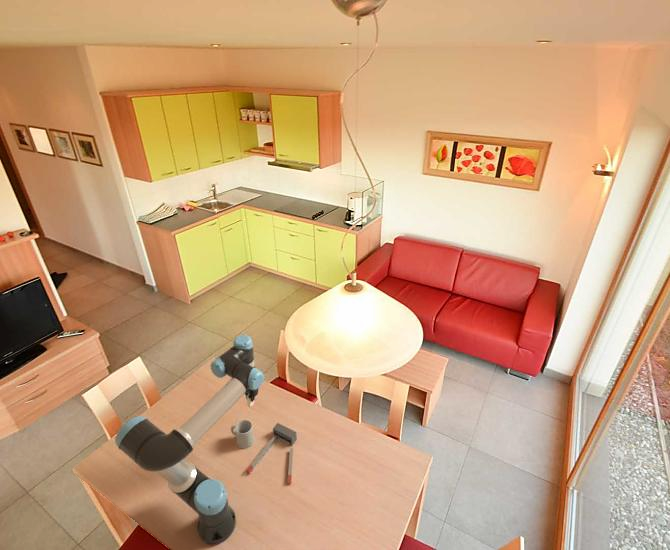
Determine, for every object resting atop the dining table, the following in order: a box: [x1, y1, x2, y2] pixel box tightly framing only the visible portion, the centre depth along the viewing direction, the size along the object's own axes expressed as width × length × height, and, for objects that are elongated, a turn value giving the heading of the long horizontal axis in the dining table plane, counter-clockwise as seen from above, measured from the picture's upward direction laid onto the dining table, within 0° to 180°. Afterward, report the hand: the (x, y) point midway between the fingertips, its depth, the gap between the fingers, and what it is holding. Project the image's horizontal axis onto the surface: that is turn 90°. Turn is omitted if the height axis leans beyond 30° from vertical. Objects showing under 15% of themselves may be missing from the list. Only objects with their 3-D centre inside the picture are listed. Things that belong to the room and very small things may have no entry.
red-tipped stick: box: [287, 447, 294, 485], centre depth 185 cm, size 17×2×2 cm, turn 2°
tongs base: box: [246, 434, 291, 475], centre depth 191 cm, size 28×9×3 cm, turn 151°
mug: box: [230, 419, 255, 449], centre depth 195 cm, size 12×8×11 cm
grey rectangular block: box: [272, 422, 298, 446], centre depth 198 cm, size 4×12×6 cm, turn 61°
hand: (251, 404), depth 181 cm, fingers closed
